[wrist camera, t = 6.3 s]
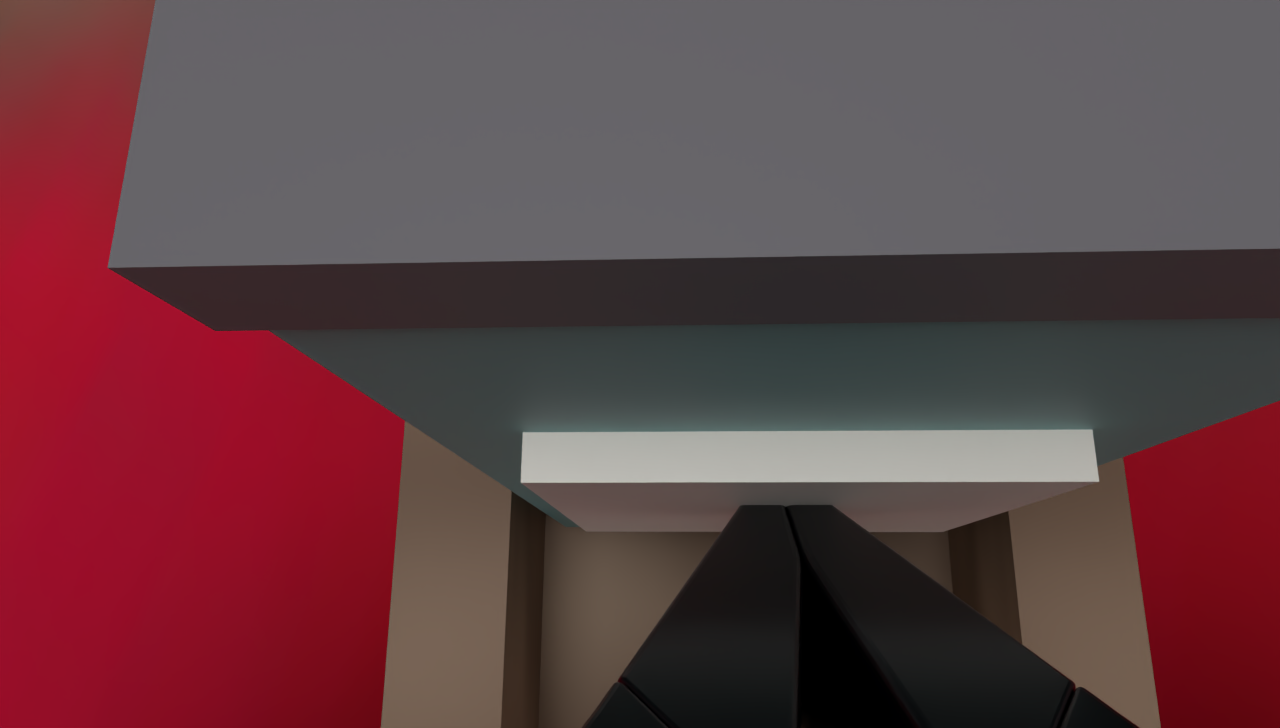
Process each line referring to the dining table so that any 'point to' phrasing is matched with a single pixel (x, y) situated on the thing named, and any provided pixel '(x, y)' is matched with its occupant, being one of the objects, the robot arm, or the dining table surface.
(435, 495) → the walnut track
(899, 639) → the robot arm
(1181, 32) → the grey teal box
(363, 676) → the dining table surface
